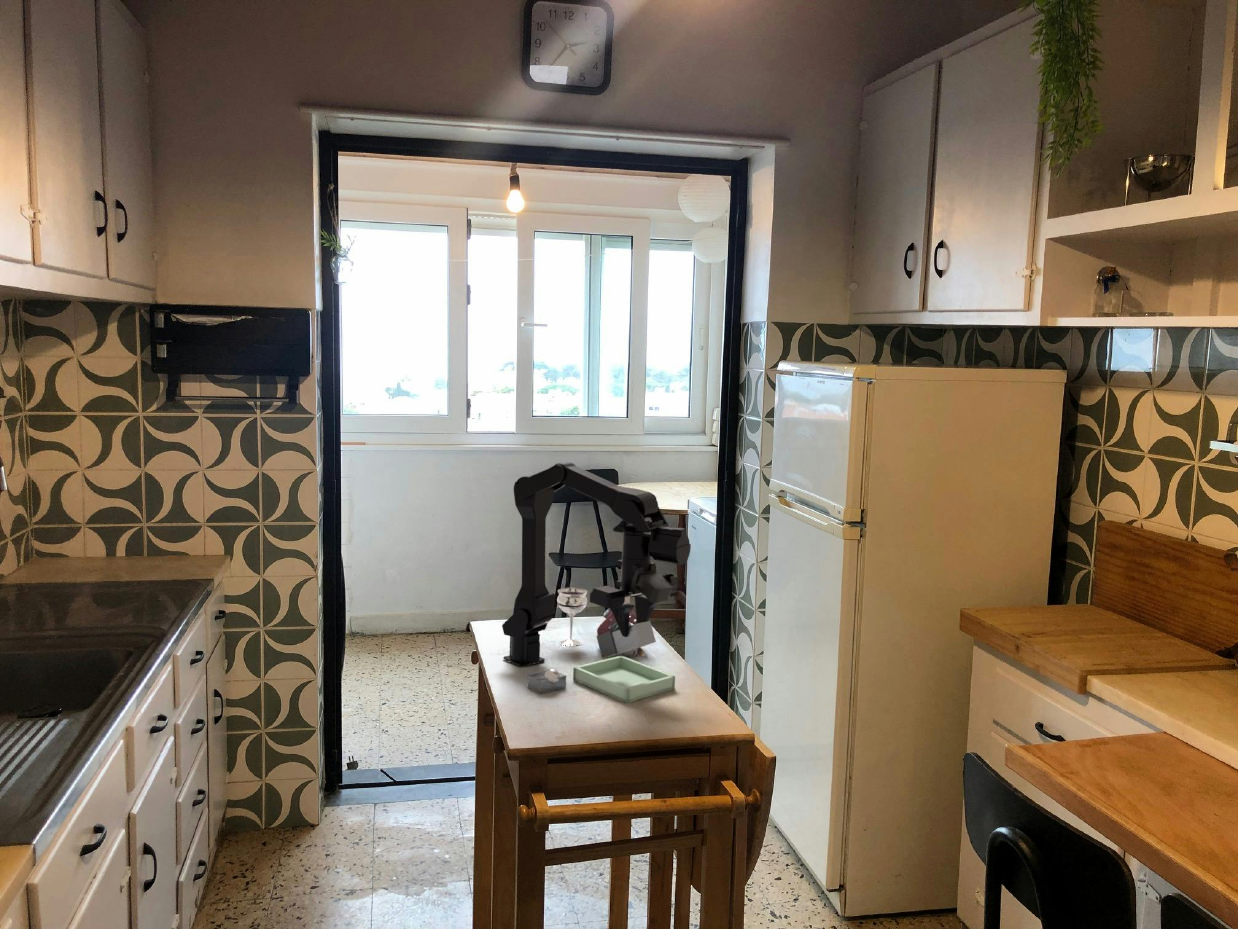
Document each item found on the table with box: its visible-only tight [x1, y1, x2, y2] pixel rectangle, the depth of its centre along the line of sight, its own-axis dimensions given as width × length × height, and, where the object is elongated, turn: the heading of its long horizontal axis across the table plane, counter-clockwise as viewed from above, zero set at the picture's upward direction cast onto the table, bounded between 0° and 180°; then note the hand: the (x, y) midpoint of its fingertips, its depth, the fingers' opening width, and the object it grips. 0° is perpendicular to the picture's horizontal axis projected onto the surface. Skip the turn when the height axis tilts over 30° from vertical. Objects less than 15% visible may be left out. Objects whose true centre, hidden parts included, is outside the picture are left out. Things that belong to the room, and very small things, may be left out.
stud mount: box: [527, 668, 567, 695], centre depth 185 cm, size 5×6×4 cm
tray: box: [572, 656, 676, 704], centre depth 189 cm, size 16×13×3 cm
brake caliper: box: [596, 608, 646, 658], centre depth 211 cm, size 11×11×12 cm
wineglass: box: [556, 587, 588, 647], centre depth 214 cm, size 7×7×12 cm
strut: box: [596, 620, 657, 659], centre depth 188 cm, size 12×4×4 cm, turn 42°
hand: (632, 634), depth 187 cm, fingers closed on strut, 4 cm apart
